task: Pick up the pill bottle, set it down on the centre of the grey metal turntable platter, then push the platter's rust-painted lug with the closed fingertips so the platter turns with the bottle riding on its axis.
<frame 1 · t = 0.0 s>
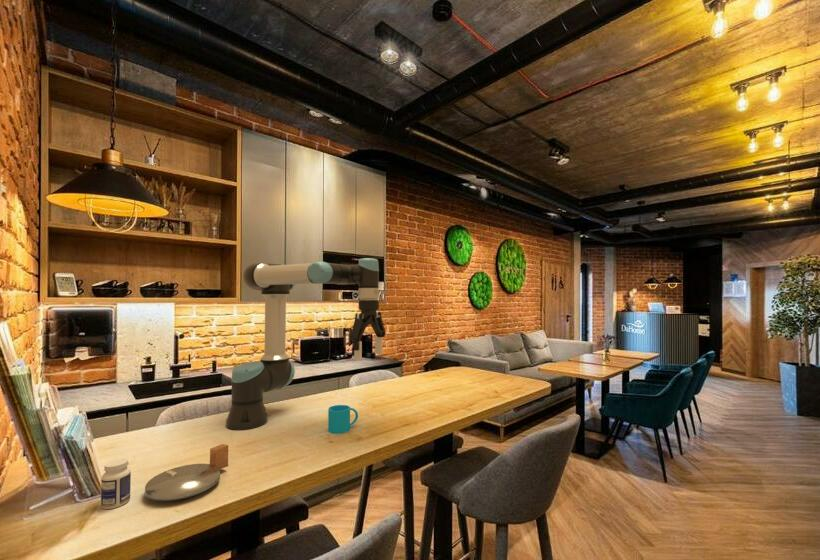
hand: (368, 356, 139), 28 cm above the table, fingers open, 13 cm apart
mug: (343, 429, 142), on the table
pill bottle: (115, 504, 92), on the table
turntable base: (184, 488, 98), on the table
turntable: (191, 469, 100), point 4 cm above the table, hinge at 0.0°
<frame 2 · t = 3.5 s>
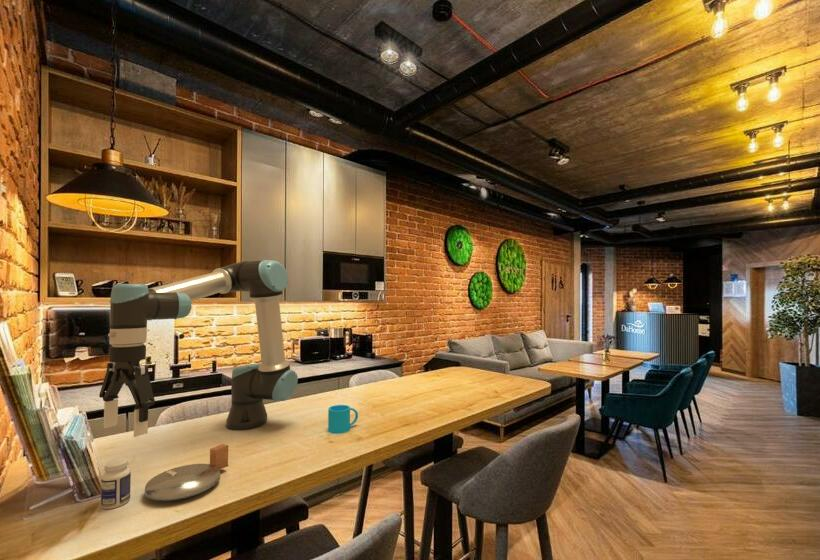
hand: (125, 430, 93), 17 cm above the table, fingers open, 13 cm apart
nothing on the table moved.
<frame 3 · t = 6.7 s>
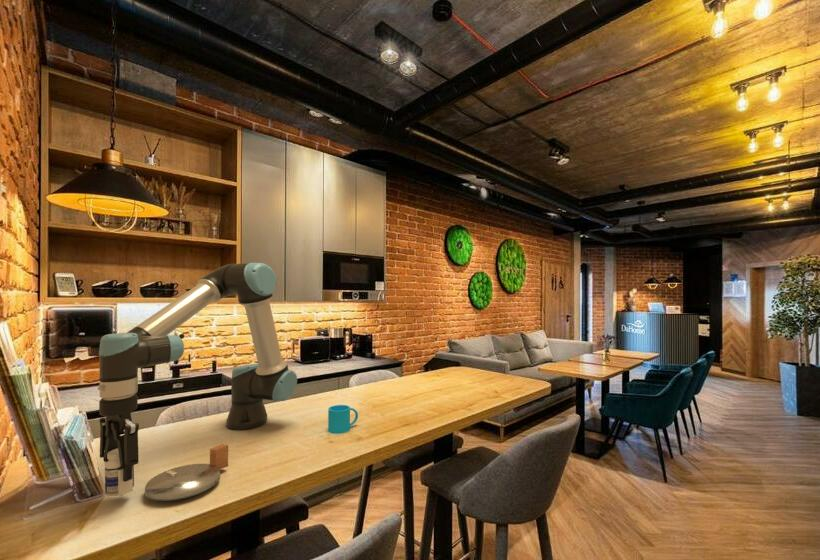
hand: (118, 489, 92), 3 cm above the table, fingers closed on pill bottle, 6 cm apart
pill bottle: (119, 491, 92), point 2 cm above the table, touching gripper
everything else where it was.
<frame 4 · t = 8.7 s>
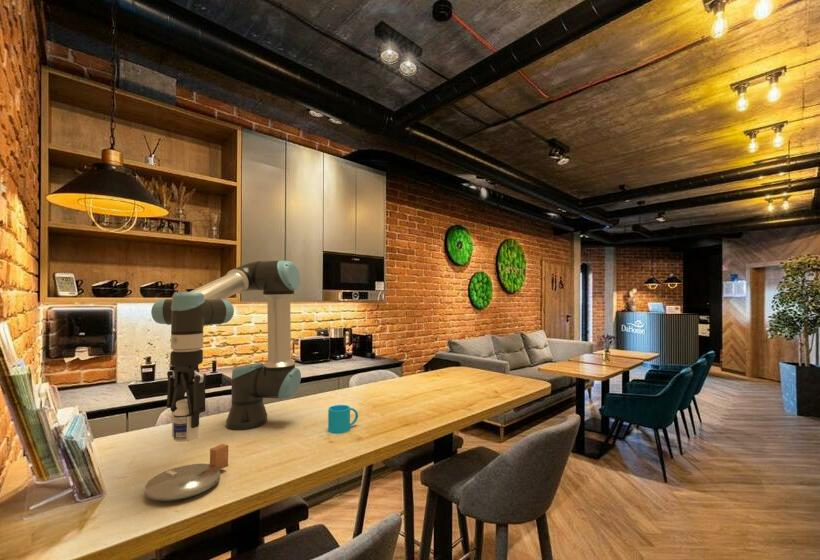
hand: (185, 437, 99), 13 cm above the table, fingers closed on pill bottle, 6 cm apart
pill bottle: (185, 439, 99), point 13 cm above the table, touching gripper
everything else where it was.
when the fingers open (4 cm above the table, at t = 10.6 s): pill bottle stays where it is, resting on turntable.
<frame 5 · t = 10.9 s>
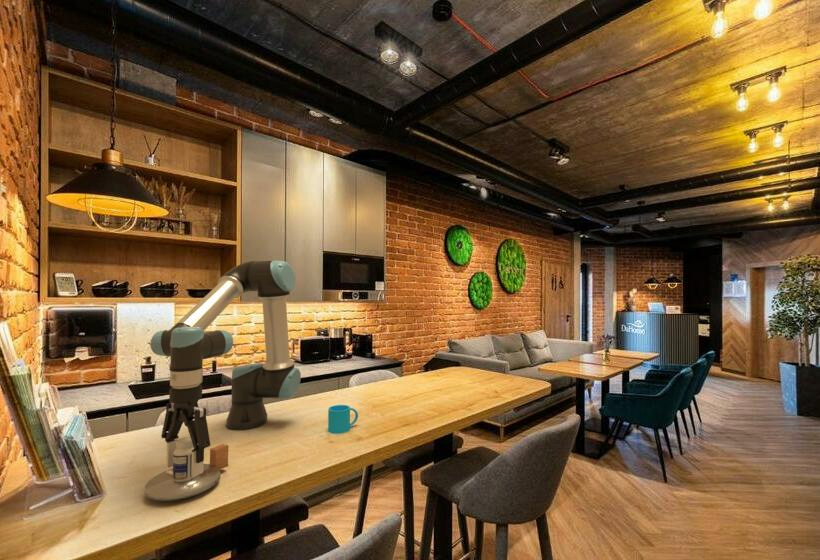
hand: (184, 470, 99), 5 cm above the table, fingers open, 10 cm apart
pill bottle: (185, 478, 99), point 3 cm above the table, touching turntable
turntable: (191, 469, 100), point 4 cm above the table, hinge at 0.0°, touching pill bottle
everything else where it was.
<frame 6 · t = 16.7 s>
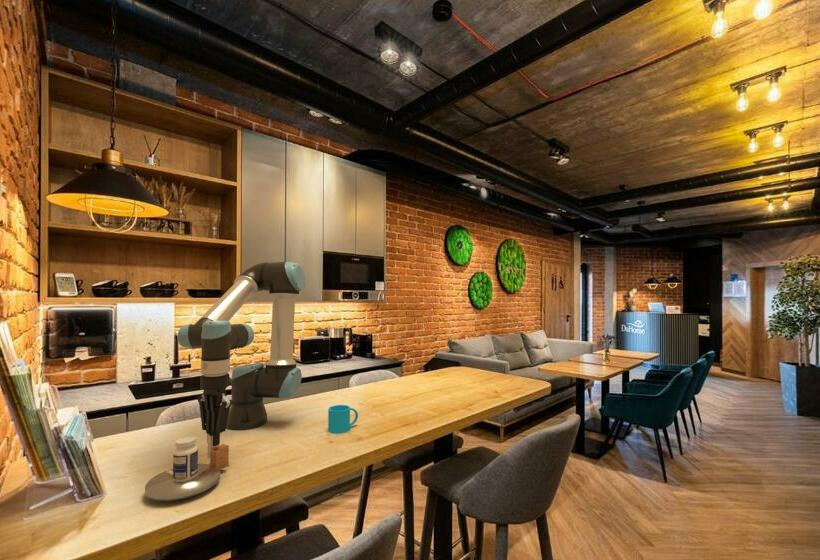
hand: (213, 456, 108), 5 cm above the table, fingers closed
turntable: (191, 469, 100), point 4 cm above the table, hinge at -1.0°, touching gripper, pill bottle
everything else where it was.
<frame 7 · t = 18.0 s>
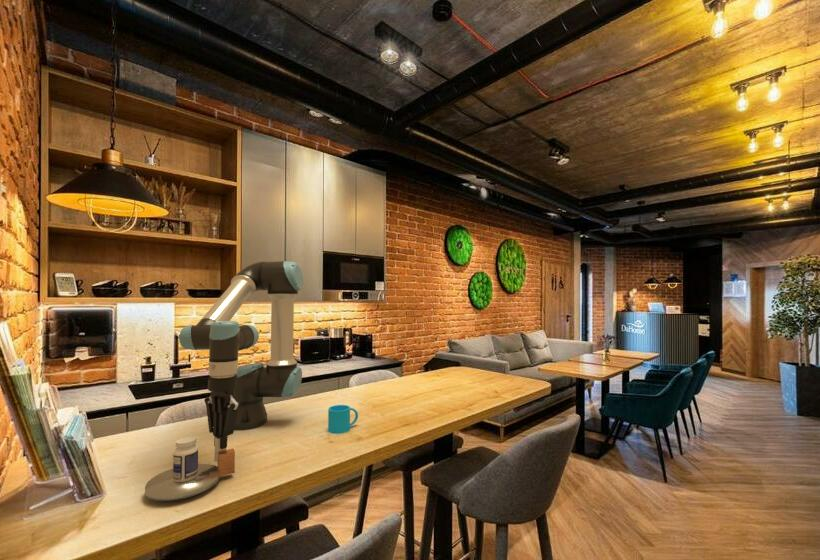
hand: (220, 459, 106), 5 cm above the table, fingers closed
turntable: (192, 470, 100), point 4 cm above the table, hinge at -27.3°, touching gripper, pill bottle
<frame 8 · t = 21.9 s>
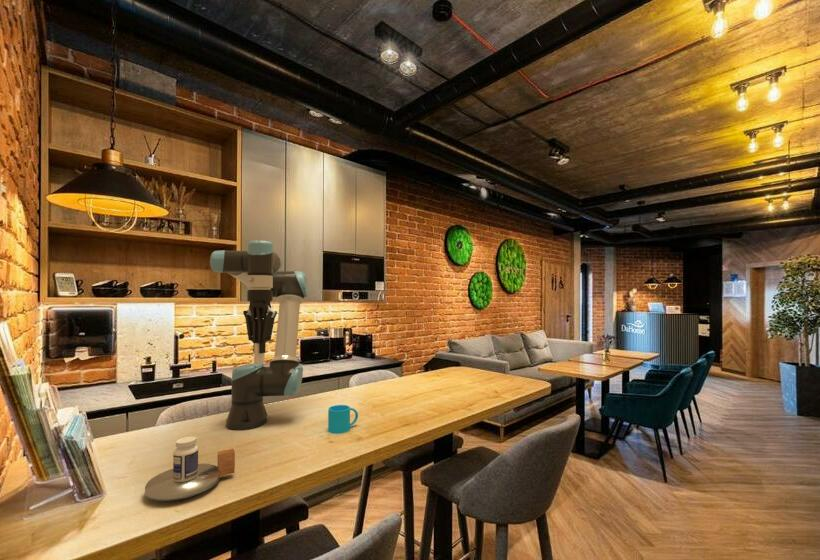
hand: (259, 363, 118), 29 cm above the table, fingers closed
turntable: (192, 470, 100), point 4 cm above the table, hinge at -27.4°, touching pill bottle
at the end: pill bottle 0.3 cm from the turntable (horizontally); pill bottle tilted 0°; turntable at -27° (first picture: +0°) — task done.
